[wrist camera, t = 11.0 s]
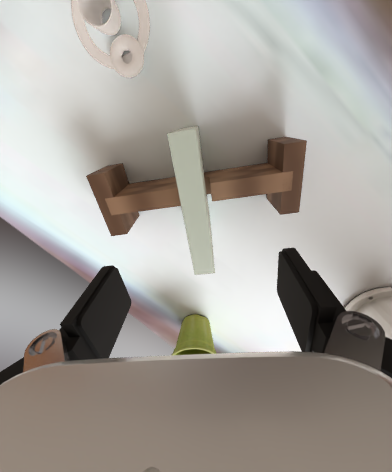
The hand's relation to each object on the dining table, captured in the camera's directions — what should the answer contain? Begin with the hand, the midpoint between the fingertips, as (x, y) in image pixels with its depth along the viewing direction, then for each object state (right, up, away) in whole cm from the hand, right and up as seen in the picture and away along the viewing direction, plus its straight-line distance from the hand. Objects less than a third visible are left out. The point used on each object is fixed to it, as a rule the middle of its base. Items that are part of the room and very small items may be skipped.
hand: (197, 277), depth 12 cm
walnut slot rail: (0, +10, +17) cm, 20 cm away
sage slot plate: (0, +10, +17) cm, 20 cm away
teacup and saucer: (-11, +23, +11) cm, 28 cm away
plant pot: (0, -17, +33) cm, 37 cm away
